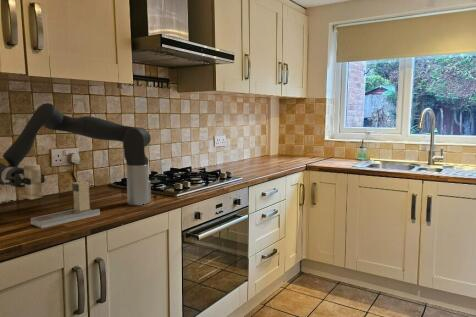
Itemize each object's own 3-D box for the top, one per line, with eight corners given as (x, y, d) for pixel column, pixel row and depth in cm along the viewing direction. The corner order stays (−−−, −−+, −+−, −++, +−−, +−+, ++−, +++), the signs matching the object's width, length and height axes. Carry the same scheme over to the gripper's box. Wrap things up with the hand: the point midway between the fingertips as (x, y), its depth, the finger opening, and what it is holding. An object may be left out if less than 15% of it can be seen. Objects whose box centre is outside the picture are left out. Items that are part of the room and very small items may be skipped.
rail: (88, 211, 148) (87, 179, 147) (100, 214, 143) (98, 181, 142) (30, 224, 131) (28, 187, 129) (41, 228, 126) (39, 190, 125)
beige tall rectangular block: (38, 195, 140) (36, 164, 139) (43, 197, 137) (41, 165, 136) (26, 198, 136) (23, 165, 135) (31, 199, 134) (28, 166, 133)
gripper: (-6, 169, 139) (14, 173, 128) (34, 165, 150) (55, 168, 139) (-4, 189, 139) (16, 194, 129) (35, 183, 151) (56, 188, 140)
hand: (36, 180), depth 134 cm, fingers closed on beige tall rectangular block, 4 cm apart
